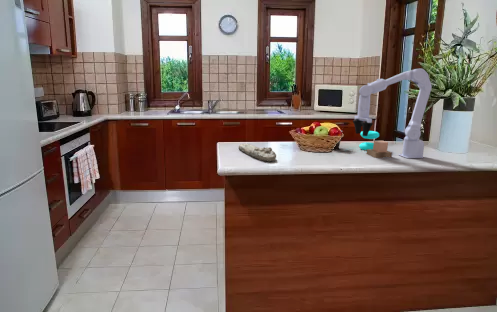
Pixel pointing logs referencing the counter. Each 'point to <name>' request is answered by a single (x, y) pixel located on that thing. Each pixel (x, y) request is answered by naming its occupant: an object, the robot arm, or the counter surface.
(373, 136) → the donuts
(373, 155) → the slab
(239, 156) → the counter surface
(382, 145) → the cube
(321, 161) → the counter surface
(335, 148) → the coffee mug
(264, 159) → the long grey stone
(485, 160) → the counter surface
